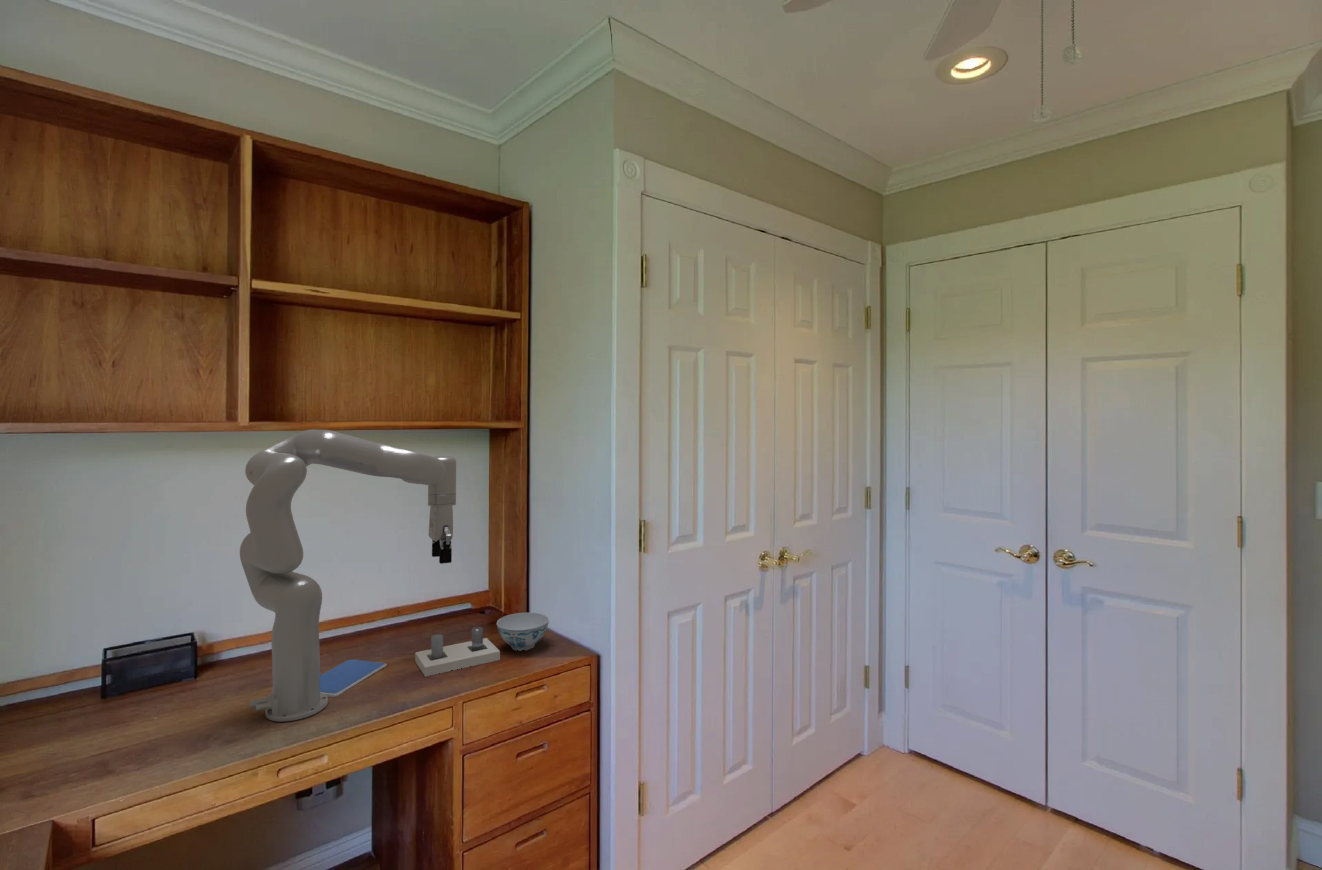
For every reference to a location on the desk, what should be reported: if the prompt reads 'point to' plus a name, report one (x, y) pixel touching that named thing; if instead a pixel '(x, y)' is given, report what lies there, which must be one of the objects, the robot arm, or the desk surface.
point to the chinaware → (522, 629)
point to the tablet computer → (347, 676)
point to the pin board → (453, 656)
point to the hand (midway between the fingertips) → (441, 559)
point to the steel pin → (477, 639)
